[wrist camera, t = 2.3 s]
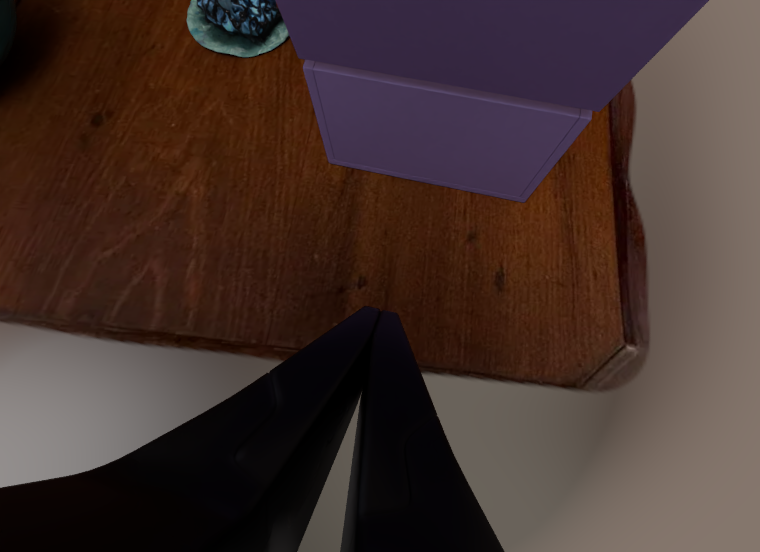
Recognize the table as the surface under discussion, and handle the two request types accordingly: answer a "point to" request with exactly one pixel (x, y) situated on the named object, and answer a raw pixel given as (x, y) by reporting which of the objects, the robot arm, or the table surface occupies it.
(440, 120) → the file box
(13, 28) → the vase
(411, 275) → the table surface
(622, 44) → the flap
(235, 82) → the table surface
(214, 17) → the dish
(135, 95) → the table surface
